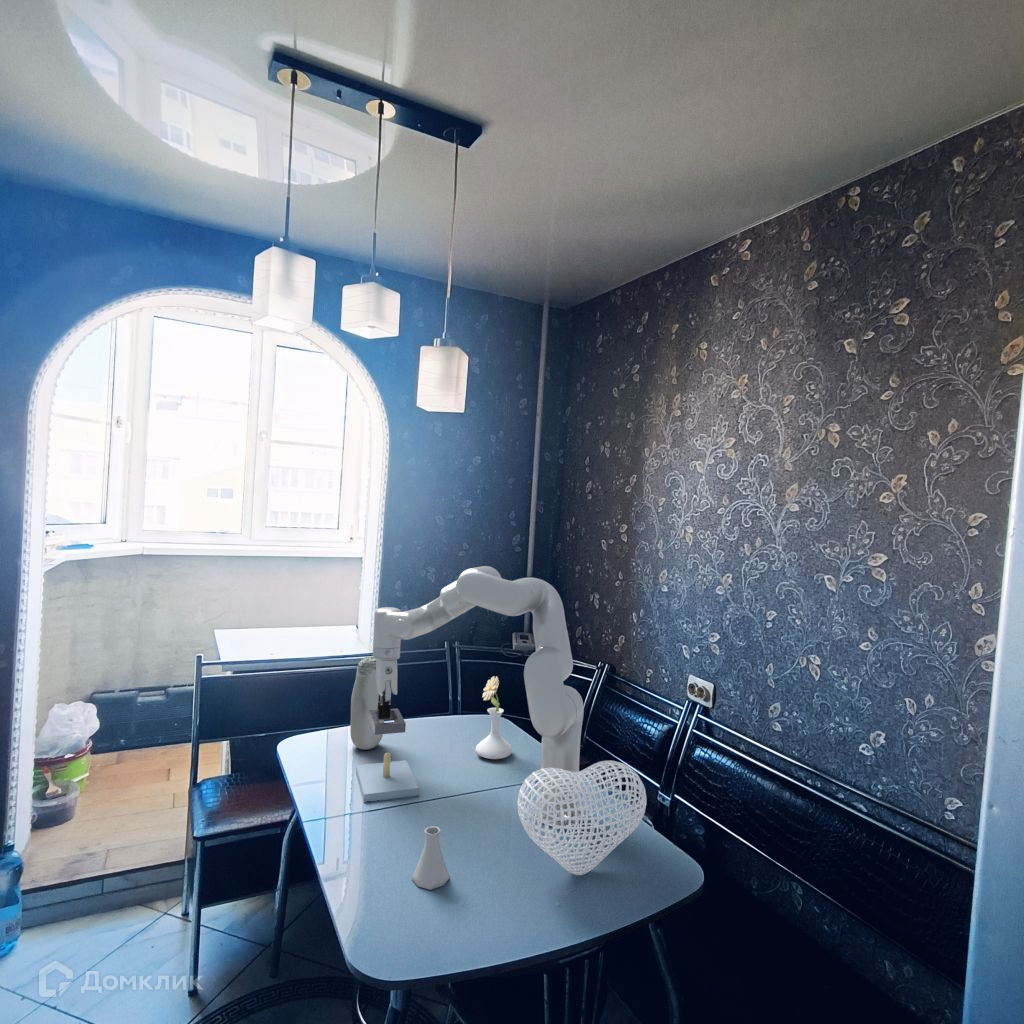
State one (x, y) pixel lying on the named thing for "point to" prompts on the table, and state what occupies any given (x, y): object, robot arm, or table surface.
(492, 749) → the flower in vase
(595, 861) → the heart
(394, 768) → the board
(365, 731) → the tall cream vase
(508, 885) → the table surface
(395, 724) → the steel link
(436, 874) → the flask
